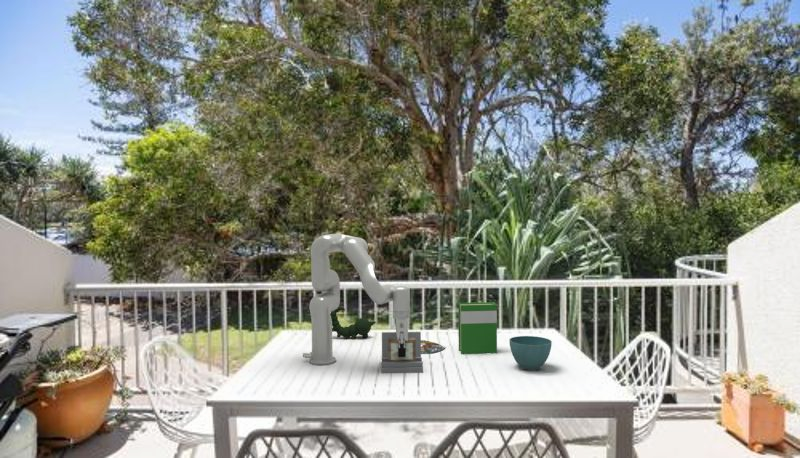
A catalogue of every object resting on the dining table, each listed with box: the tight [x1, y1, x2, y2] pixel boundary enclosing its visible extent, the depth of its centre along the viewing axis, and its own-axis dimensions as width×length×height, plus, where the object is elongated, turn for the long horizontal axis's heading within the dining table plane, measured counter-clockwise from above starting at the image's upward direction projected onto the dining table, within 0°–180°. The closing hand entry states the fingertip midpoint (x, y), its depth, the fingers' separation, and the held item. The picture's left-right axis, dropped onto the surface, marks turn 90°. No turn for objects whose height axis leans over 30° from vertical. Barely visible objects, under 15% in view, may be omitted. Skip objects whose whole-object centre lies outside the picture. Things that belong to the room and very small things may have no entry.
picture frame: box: [388, 338, 416, 362], centre depth 244 cm, size 12×4×10 cm, turn 91°
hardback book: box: [457, 301, 498, 355], centre depth 273 cm, size 18×7×24 cm, turn 94°
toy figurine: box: [330, 306, 377, 340], centre depth 306 cm, size 9×19×25 cm
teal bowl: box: [508, 335, 553, 371], centre depth 244 cm, size 18×18×12 cm
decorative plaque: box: [421, 339, 446, 355], centre depth 283 cm, size 30×3×30 cm
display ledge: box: [380, 331, 424, 374], centre depth 247 cm, size 18×18×14 cm
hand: (401, 355), depth 244 cm, fingers closed on picture frame, 4 cm apart
